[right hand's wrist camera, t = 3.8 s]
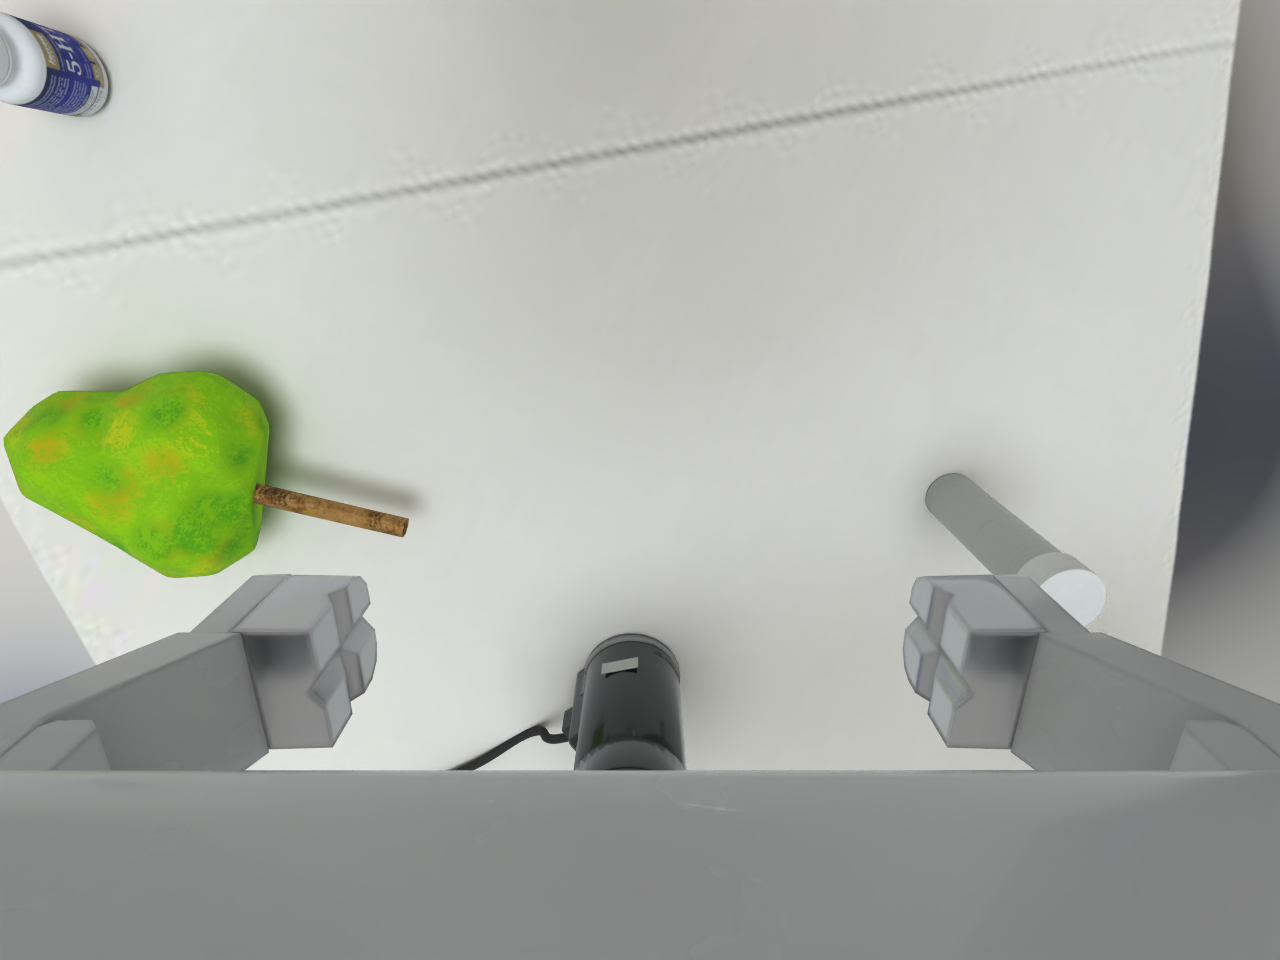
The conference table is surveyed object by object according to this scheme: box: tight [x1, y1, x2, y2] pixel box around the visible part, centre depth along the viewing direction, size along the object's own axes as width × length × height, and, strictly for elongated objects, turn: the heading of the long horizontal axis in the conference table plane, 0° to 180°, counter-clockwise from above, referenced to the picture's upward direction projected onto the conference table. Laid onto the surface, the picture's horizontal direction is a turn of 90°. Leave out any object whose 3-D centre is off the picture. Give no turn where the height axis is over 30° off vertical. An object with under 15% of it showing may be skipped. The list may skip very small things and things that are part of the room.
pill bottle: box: [0, 12, 108, 117], centre depth 45 cm, size 5×5×9 cm
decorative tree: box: [4, 371, 409, 578], centre depth 55 cm, size 18×10×30 cm
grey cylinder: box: [926, 474, 1062, 575], centre depth 53 cm, size 4×4×18 cm
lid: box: [1017, 552, 1106, 627], centre depth 45 cm, size 5×5×2 cm
